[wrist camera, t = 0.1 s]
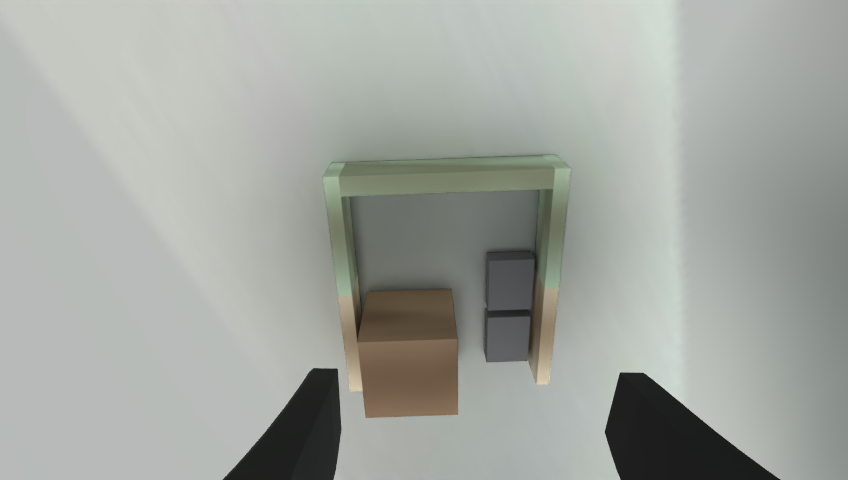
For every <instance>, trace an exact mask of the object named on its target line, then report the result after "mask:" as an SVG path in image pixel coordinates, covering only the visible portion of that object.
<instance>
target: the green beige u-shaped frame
mask: <svg viewBox="0 0 848 480" xmlns="http://www.w3.org/2000/svg"><path fill="white" fill-rule="evenodd" d="M570 173H571V168H570V167H569V166H568V165H567V164H566V163H565V162H564V161H563V160H562V159H561V158H560V157H558V156H557V155H538V156H510V157H483V158H455V159H427V160H399V161H372V162H344V163H331V164H330V166H329V168H328V169H327V171H326V172H325V174H324V176H323V184H324V192H325V200H326V208H327V215H328V223H329V231H330V239H331V247H332V254H333V262H334V270H335V278H336V286H337V293H338V301H339V309H340V317H341V324H342V332H343V340H344V348H345V356H346V363H347V371H348V379H349V387H350V392H351V391H363V388H362V380H361V371H360V362H359V353H358V344H357V341H358V336H359V331H360V326H361V320H362V312H361V303H360V293H359V284H358V274H357V265H356V255H355V246H354V236H353V227H352V217H351V208H350V198H349V196H371V195H399V194H427V193H455V192H482V191H510V190H538V189H540V192H539V206H538V219H537V233H536V246H535V263H534V277H533V290H532V304H531V314H530V316H531V317H530V331H529V344H528V361H529V364H530V367H531V370H532V373H533V376H534V379H535V382H536V385H546V384H549V380H550V371H551V361H552V351H553V341H554V331H555V321H556V311H557V302H558V292H559V282H560V272H561V262H562V252H563V242H564V233H565V223H566V213H567V203H568V193H569V183H570Z"/></svg>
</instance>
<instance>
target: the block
mask: <svg viewBox="0 0 848 480" xmlns="http://www.w3.org/2000/svg"><path fill="white" fill-rule="evenodd" d="M357 344H358V353H359V362H360V371H361V380H362V388H363V397H364V406H365V415H366V418H374V417H403V416H432V415H458V338H457V330H456V322H455V314H454V307H453V299H452V291H451V289H427V290H399V291H371V292H367V294H366V299H365V304H364V310H363V315H362V320H361V326H360V331H359V336H358V341H357Z"/></svg>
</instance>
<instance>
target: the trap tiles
mask: <svg viewBox="0 0 848 480" xmlns="http://www.w3.org/2000/svg"><path fill="white" fill-rule="evenodd" d="M534 263H535V259H534V257H533V255H532V253H531V251H526V252H498V253H487V272H486V304H487V308H486V311H485V349H484V352H485V357H486V362H507V361H527V358H528V344H529V331H530V317H531V316H530V314H529V311H528V309H531V304H532V290H533V277H534Z"/></svg>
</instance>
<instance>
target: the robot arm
mask: <svg viewBox="0 0 848 480" xmlns="http://www.w3.org/2000/svg"><path fill="white" fill-rule="evenodd" d="M605 434H606V438H607V441H608V444H609V447H610V451H611V454H612V457H613V460H614V463H615V466H616V469H617V472H618V474H619V476H620V479H621V480H780V479H779V478H777V477H775V476H774V475H773V474H771V473H770V472H769V471H767V470H766V469H764V468H763V467H762V466H760V465H759V464H758V463H756V462H755V461H754V460H752V459H751V458H750V457H748V456H747V455H745V454H744V453H743V452H741V451H740V450H739V449H737V448H736V447H735V446H734V445H732V444H731V443H730V442H728V441H727V440H726V439H725V438H723V437H722V436H721V435H719V434H718V433H717V432H715V431H714V430H713V429H712V428H711V427H709V426H708V425H707V424H706V423H704V422H703V421H702V420H701V419H700V418H698V417H697V416H696V415H695V414H694V413H692V412H691V411H690V410H689V409H687V408H686V407H685V406H684V405H683V404H681V403H680V402H679V401H678V400H677V399H675V398H674V397H673V396H672V395H671V394H669V393H668V392H667V391H666V390H665V389H663V388H662V387H661V386H660V385H658V384H657V383H656V382H655V381H654V380H652V379H651V378H650V377H648V376H647V375H646V374H644V373H620V375H619V379H618V382H617V386H616V390H615V394H614V398H613V402H612V406H611V410H610V414H609V417H608V421H607V425H606V429H605ZM340 435H341V416H340V399H339V383H338V369H320V368H313V369H312V370H311V371H310V372H309V373H308V375H307V376H306V378H305V379H304V381H303V382H302V384H301V385H300V387H299V388H298V390H297V391H296V392H295V394H294V395H293V397H292V398H291V399H290V401H289V402H288V404H287V405H286V406H285V408H284V409H283V410H282V412H281V413H280V414H279V415H278V417H277V418H276V419H275V420H274V422H273V423H272V424H271V426H270V427H269V428H268V429H267V431H266V432H265V433H264V434H263V435H262V437H261V438H260V439H259V440H258V441H257V442H256V444H255V445H254V446H253V447H252V448H251V449H250V451H249V452H248V453H247V454H246V455H245V456H244V458H243V459H242V460H241V461H240V462H239V463H238V464H237V465H236V466H235V467H234V468H233V469H232V470H231V471H230V473H229V474H228V475H227V476H226V477H225V478H224V479H223V480H333V479H334V475H335V471H336V464H337V457H338V450H339V443H340Z"/></svg>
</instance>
